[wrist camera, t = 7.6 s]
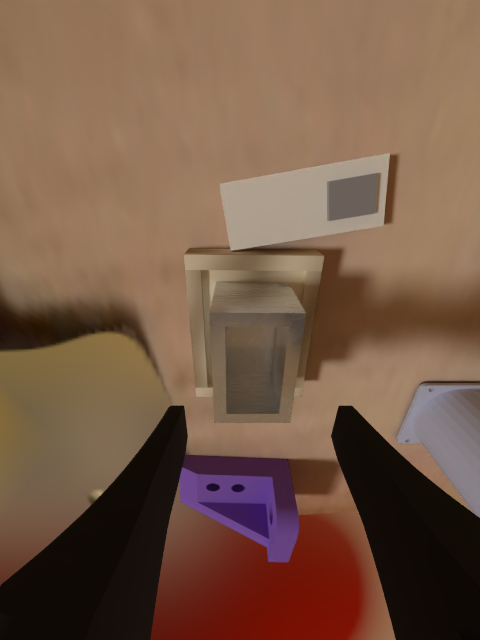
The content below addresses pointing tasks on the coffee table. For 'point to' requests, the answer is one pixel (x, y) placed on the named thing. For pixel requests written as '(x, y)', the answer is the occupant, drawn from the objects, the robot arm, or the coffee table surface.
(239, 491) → the bracket
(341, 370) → the coffee table surface
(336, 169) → the block
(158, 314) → the coffee table surface
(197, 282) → the beige shallow tray
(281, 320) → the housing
